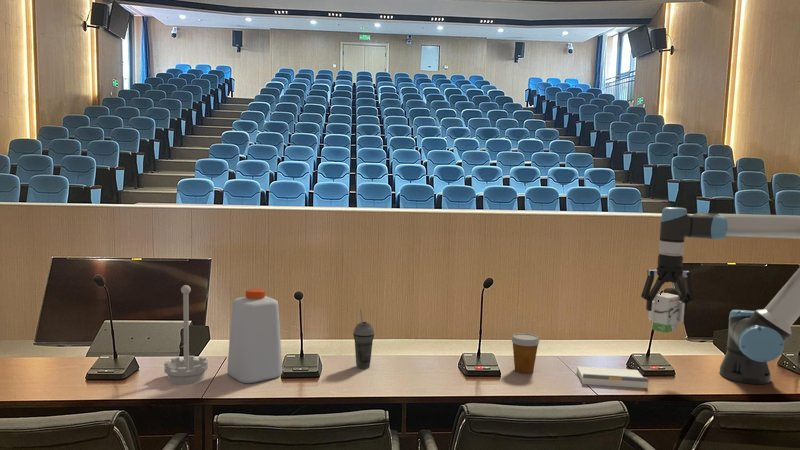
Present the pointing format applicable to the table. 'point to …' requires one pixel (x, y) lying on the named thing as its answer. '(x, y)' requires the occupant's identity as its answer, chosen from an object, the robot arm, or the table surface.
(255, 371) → the plastic bottle
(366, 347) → the beverage cup
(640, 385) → the white slab
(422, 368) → the table surface
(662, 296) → the ink box
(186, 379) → the flag stand
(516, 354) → the disposable coffee cup
